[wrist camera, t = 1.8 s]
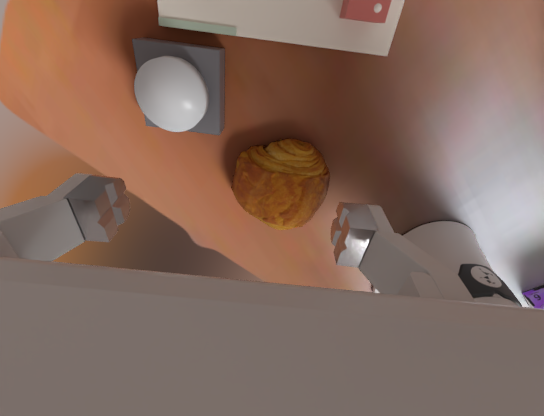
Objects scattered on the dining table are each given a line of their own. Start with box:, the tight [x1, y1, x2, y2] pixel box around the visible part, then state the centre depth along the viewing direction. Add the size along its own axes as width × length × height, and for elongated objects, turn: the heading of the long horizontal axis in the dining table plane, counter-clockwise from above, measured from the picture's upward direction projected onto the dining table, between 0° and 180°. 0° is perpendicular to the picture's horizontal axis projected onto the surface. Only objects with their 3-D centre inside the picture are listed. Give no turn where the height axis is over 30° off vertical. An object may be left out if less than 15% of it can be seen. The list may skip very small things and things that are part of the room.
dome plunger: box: [134, 56, 209, 132], centre depth 32 cm, size 8×8×4 cm
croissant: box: [231, 138, 330, 230], centre depth 40 cm, size 14×16×8 cm
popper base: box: [132, 38, 225, 135], centre depth 34 cm, size 10×10×3 cm
